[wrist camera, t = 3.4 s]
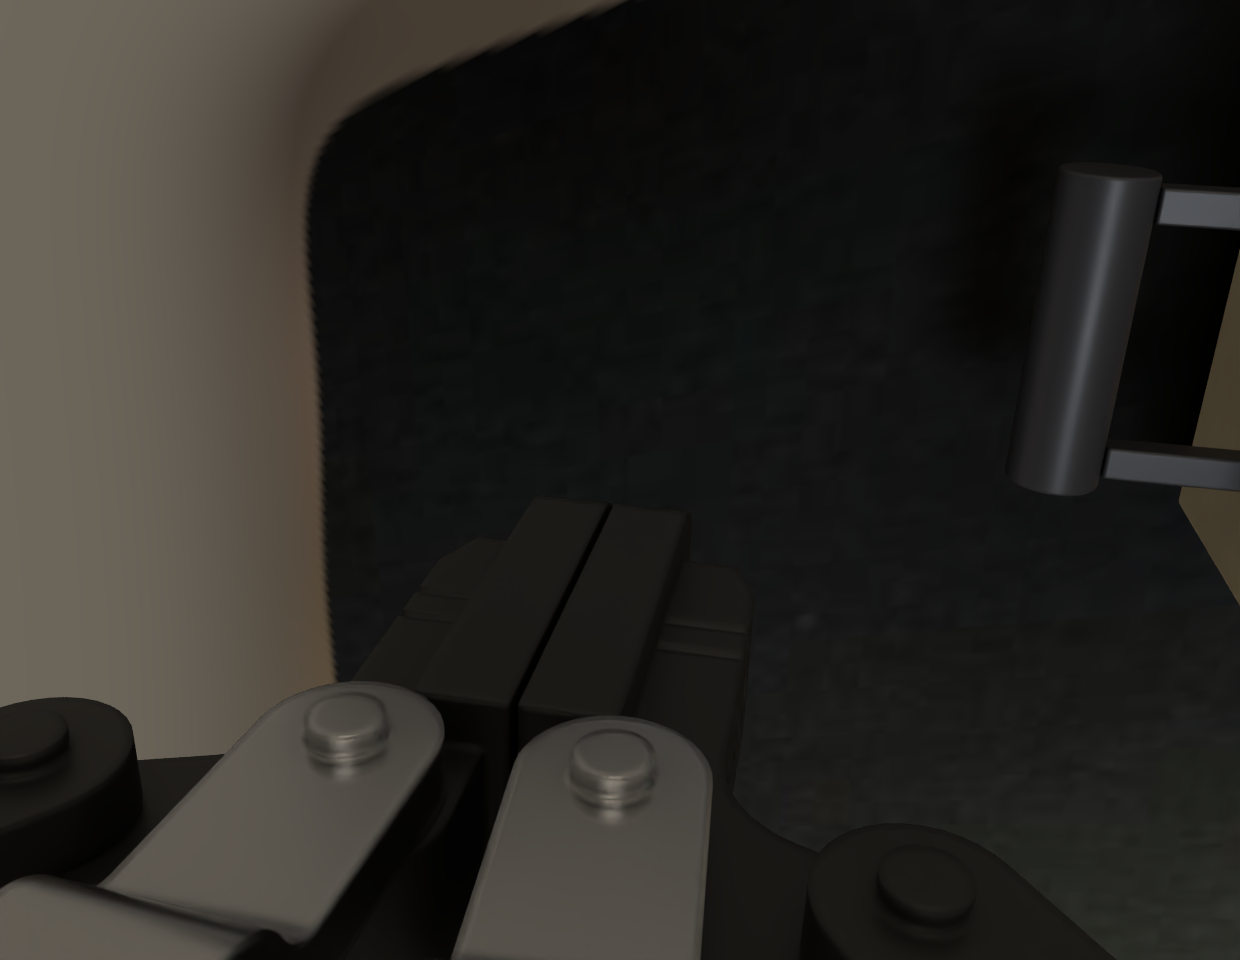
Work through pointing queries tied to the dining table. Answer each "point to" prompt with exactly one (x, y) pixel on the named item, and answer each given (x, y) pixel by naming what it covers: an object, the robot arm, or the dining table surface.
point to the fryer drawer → (1123, 353)
